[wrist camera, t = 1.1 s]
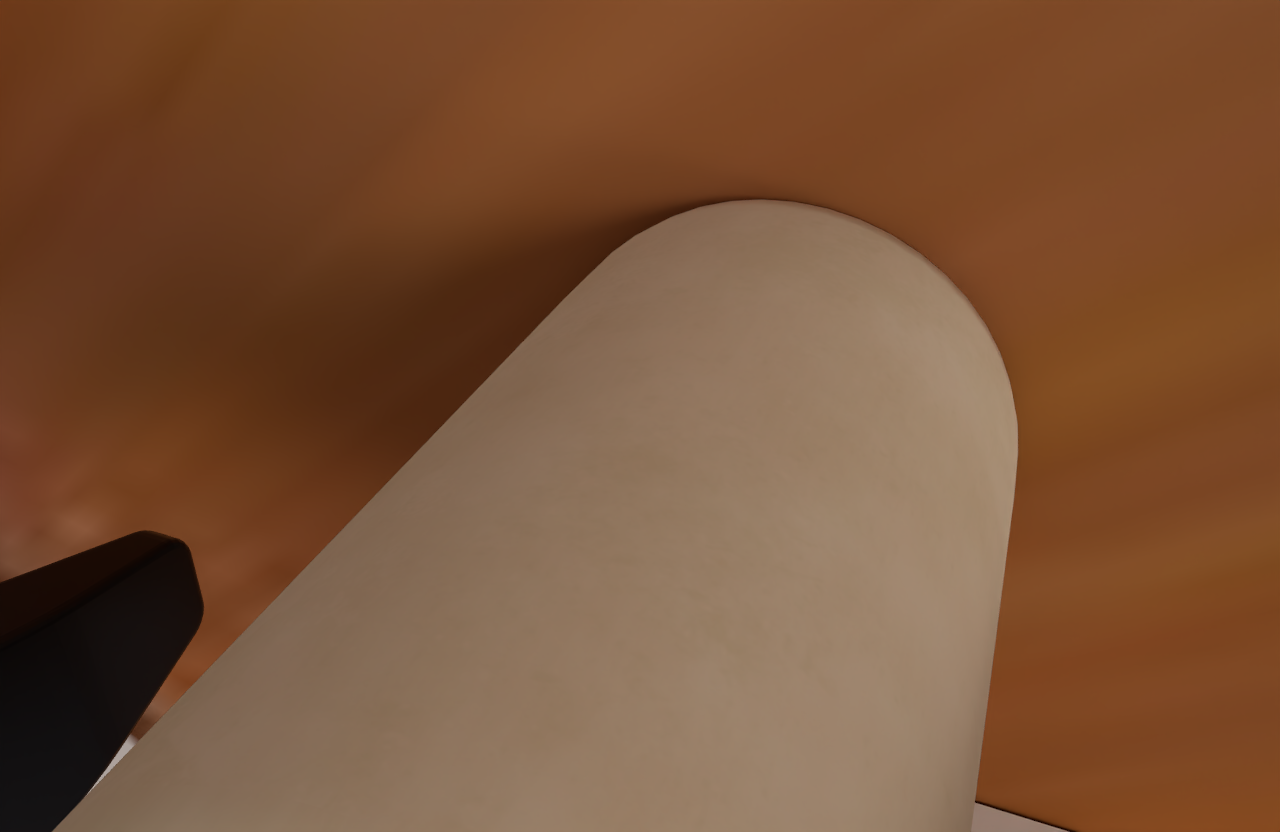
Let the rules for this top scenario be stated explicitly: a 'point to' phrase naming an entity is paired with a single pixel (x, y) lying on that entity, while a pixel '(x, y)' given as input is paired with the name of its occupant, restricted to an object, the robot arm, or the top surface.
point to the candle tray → (1005, 822)
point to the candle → (645, 572)
